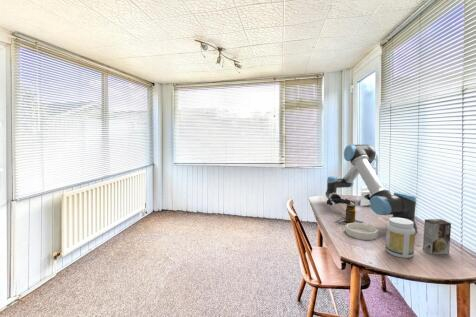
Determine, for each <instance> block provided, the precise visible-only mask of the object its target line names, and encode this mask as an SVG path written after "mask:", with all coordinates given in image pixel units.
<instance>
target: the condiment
mask: <svg viewBox="0 0 476 317" xmlns="http://www.w3.org/2000/svg"><path fill="white" fill-rule="evenodd" d="M344 216H345V219H344V220H341V221H340V223H345V224H348V223H358V222H357V221H355V220H356V205H352V204H346V208H345V215H344Z"/></svg>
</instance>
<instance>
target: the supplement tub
mask: <svg viewBox="0 0 476 317" xmlns="http://www.w3.org/2000/svg"><path fill="white" fill-rule="evenodd" d="M413 226H414V223H413V221H411V220H408V219H404V218H398V217H393V218H392V217H390V218H389V219H388V223H387V224H386V232H385V233H386V234H385V251H386V252H387V253H388V254H390V255H391V256H394V257H397V258H401V259H402V258H403V259H409V258H412V257H413V256H414V255H415V254H414V253H415V245H416V244H415V243H416V242H415V241H416V233H415V229H414V228H413Z"/></svg>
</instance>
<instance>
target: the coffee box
mask: <svg viewBox="0 0 476 317" xmlns="http://www.w3.org/2000/svg"><path fill="white" fill-rule="evenodd" d="M451 229H452V223H451V222H448V221H447V220H445V219H442V218H436V219H432V218H431V219H430V218H429V219H426V218H425V219H424V228H423V239H422V250H424V251H425V252H427V253H429V254H430V255H450V244H451V231H452V230H451Z"/></svg>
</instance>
